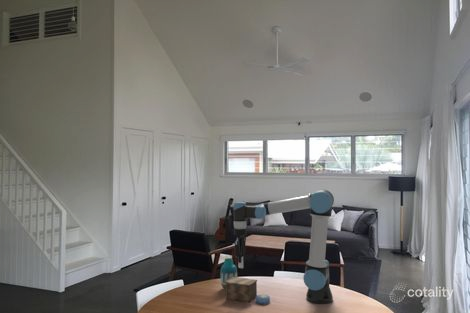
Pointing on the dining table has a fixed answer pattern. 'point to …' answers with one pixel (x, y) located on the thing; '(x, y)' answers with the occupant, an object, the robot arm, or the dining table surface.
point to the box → (241, 292)
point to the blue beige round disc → (262, 299)
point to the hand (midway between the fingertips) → (240, 267)
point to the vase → (227, 271)
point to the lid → (240, 281)
